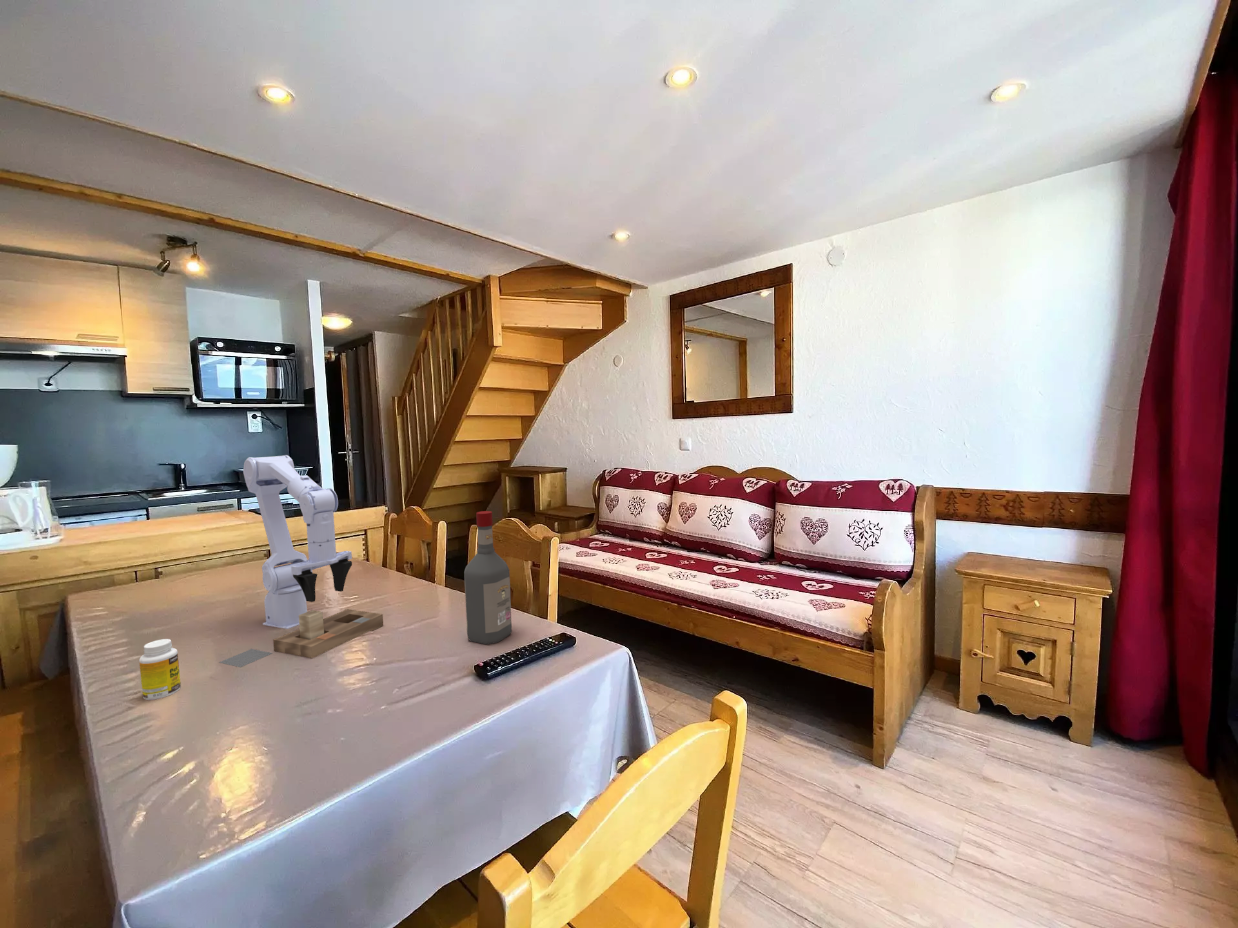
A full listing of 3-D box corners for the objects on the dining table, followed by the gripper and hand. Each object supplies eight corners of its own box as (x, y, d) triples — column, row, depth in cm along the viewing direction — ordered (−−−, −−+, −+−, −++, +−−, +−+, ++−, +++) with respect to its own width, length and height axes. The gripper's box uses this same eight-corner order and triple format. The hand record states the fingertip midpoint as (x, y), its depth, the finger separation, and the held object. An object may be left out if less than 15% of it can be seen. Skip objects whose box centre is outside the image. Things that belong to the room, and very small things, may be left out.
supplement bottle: (176, 697, 99) (171, 645, 98) (138, 704, 96) (132, 651, 96) (185, 684, 104) (180, 634, 103) (149, 690, 101) (144, 640, 101)
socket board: (274, 652, 118) (273, 639, 117) (348, 619, 136) (347, 608, 136) (312, 659, 113) (311, 646, 113) (383, 625, 132) (382, 613, 132)
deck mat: (218, 664, 112) (218, 662, 112) (251, 650, 119) (251, 648, 119) (240, 668, 110) (240, 667, 110) (272, 654, 116) (272, 653, 116)
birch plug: (301, 648, 119) (298, 615, 119) (314, 642, 122) (312, 609, 122) (311, 651, 118) (309, 616, 117) (325, 644, 121) (322, 611, 120)
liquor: (516, 631, 126) (511, 510, 124) (492, 646, 118) (487, 517, 116) (486, 626, 130) (481, 508, 128) (461, 640, 122) (455, 514, 119)
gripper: (304, 548, 115) (309, 608, 116) (359, 534, 129) (362, 588, 130) (283, 546, 118) (287, 604, 119) (338, 533, 131) (342, 585, 132)
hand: (325, 595), depth 125 cm, fingers open, 7 cm apart
